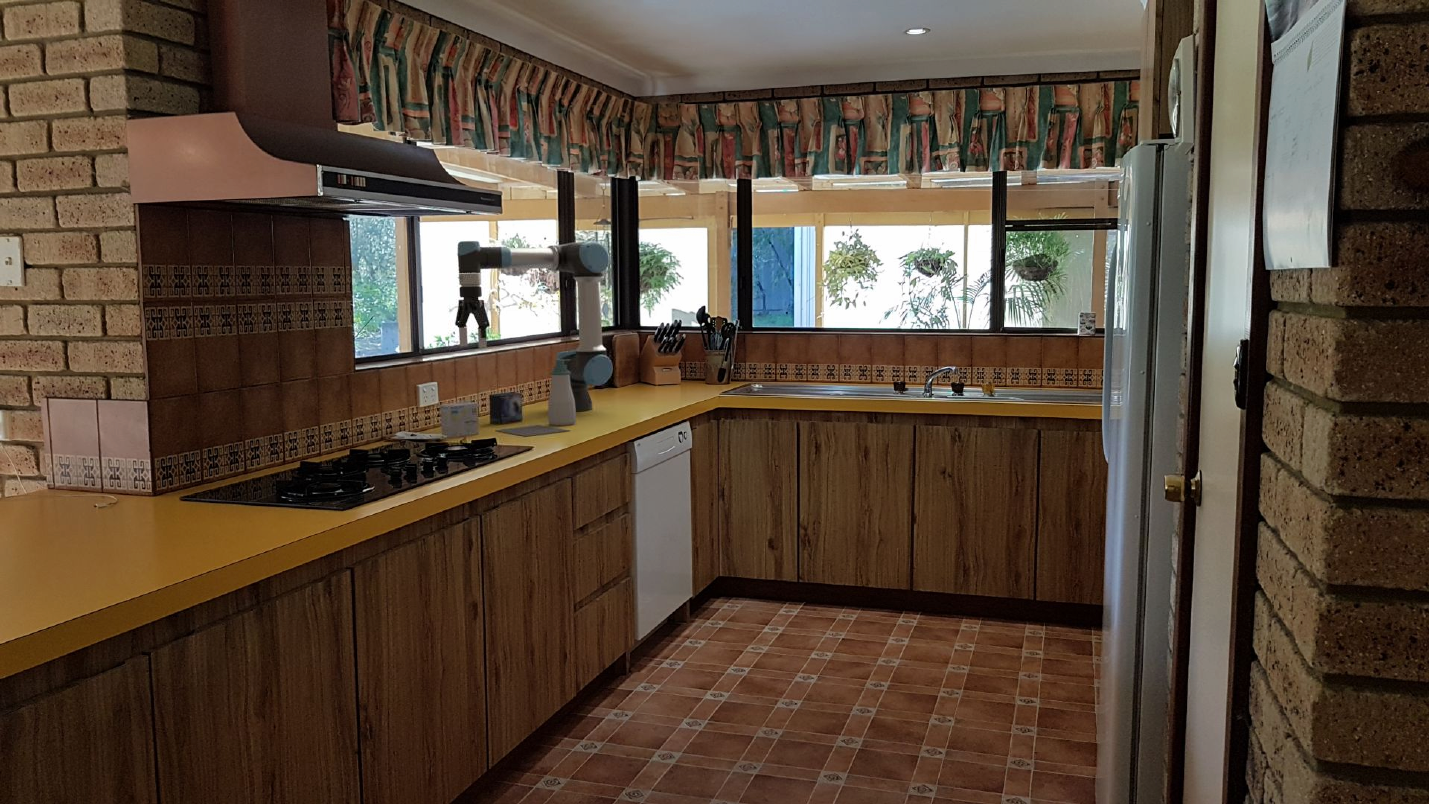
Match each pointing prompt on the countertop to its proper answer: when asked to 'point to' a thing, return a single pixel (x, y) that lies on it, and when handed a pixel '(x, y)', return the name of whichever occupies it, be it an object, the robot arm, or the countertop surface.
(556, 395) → the soap bottle
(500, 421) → the small box
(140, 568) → the countertop surface
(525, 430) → the charcoal mat
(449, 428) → the light bulb box
